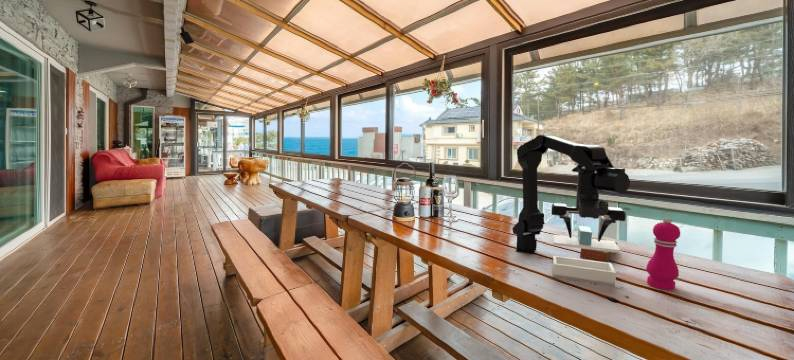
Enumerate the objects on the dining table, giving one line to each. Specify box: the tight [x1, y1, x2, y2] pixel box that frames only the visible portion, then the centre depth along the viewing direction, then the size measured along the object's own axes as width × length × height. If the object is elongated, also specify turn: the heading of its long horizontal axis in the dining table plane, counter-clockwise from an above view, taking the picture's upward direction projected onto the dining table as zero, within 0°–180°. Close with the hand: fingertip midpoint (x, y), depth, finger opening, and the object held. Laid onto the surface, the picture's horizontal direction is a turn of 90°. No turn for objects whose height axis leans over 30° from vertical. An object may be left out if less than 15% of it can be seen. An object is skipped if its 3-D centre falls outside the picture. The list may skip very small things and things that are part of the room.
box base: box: [552, 255, 617, 287], centre depth 100 cm, size 16×8×4 cm, turn 66°
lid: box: [552, 225, 621, 254], centre depth 98 cm, size 17×9×5 cm, turn 66°
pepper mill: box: [645, 216, 681, 291], centre depth 92 cm, size 7×7×20 cm
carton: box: [579, 237, 618, 263], centre depth 118 cm, size 8×16×4 cm, turn 136°
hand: (584, 239), depth 98 cm, fingers open, 7 cm apart
